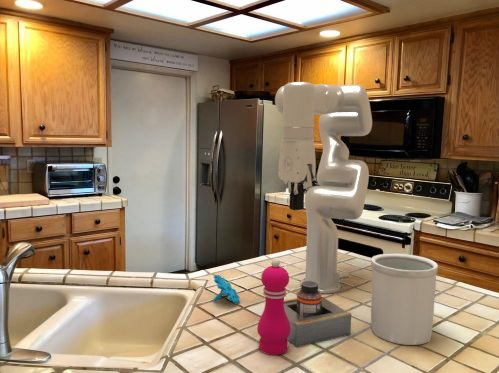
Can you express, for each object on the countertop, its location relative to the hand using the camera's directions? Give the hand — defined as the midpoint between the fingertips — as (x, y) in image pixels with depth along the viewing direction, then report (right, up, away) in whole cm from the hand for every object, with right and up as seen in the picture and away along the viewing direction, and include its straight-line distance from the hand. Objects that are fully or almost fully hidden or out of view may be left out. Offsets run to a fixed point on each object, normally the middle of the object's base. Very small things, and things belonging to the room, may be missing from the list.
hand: (296, 209), depth 103 cm
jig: (+3, -29, -2) cm, 29 cm away
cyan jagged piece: (-18, -27, +14) cm, 35 cm away
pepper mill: (-6, -30, -12) cm, 33 cm away
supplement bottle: (+3, -29, -2) cm, 29 cm away
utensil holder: (+25, -30, -3) cm, 39 cm away
